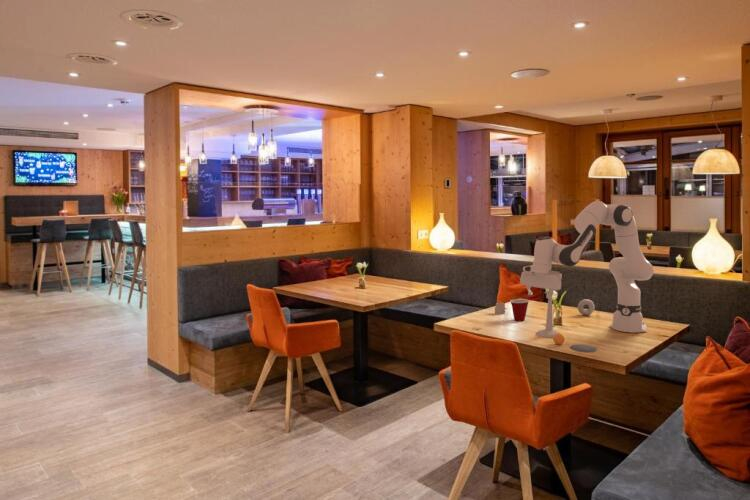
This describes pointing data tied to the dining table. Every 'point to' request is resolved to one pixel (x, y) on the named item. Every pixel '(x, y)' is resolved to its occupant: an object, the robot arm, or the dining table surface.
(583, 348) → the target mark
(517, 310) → the plastic cup
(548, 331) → the candlestick
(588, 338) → the dining table surface
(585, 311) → the donut
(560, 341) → the ball
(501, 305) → the architectural model
